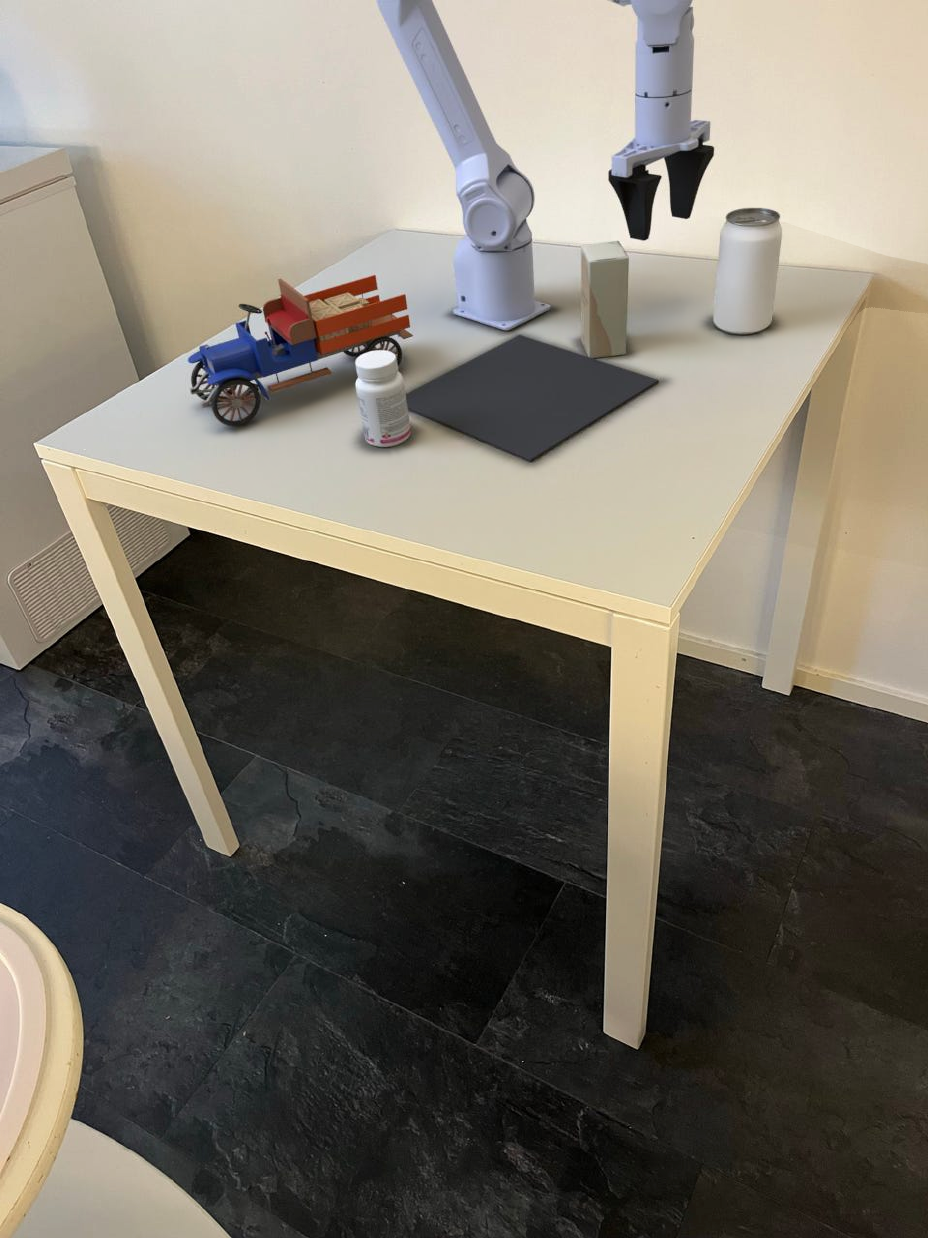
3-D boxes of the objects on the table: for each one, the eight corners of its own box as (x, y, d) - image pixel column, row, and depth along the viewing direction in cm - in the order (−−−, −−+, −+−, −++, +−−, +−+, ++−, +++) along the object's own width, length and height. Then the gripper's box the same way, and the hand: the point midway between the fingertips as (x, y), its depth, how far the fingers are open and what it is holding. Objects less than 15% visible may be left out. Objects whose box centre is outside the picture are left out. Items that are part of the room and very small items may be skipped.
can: (772, 335, 107) (786, 225, 99) (712, 335, 108) (721, 226, 101) (770, 311, 112) (783, 205, 104) (712, 312, 113) (721, 206, 105)
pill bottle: (418, 426, 98) (407, 349, 93) (401, 450, 95) (389, 371, 90) (375, 422, 100) (363, 346, 94) (357, 446, 97) (343, 368, 91)
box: (580, 340, 111) (579, 243, 103) (617, 335, 111) (619, 238, 103) (589, 360, 106) (588, 260, 99) (627, 355, 107) (629, 255, 99)
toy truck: (191, 407, 107) (162, 310, 99) (391, 342, 115) (377, 249, 108) (215, 437, 101) (186, 337, 94) (424, 366, 109) (412, 270, 102)
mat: (392, 403, 103) (392, 400, 103) (519, 336, 113) (519, 334, 113) (530, 462, 91) (530, 459, 91) (658, 382, 101) (658, 379, 101)
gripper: (651, 112, 92) (649, 254, 101) (738, 76, 99) (729, 212, 108) (594, 106, 96) (597, 243, 105) (681, 72, 103) (677, 203, 112)
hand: (660, 227), depth 107 cm, fingers open, 7 cm apart
